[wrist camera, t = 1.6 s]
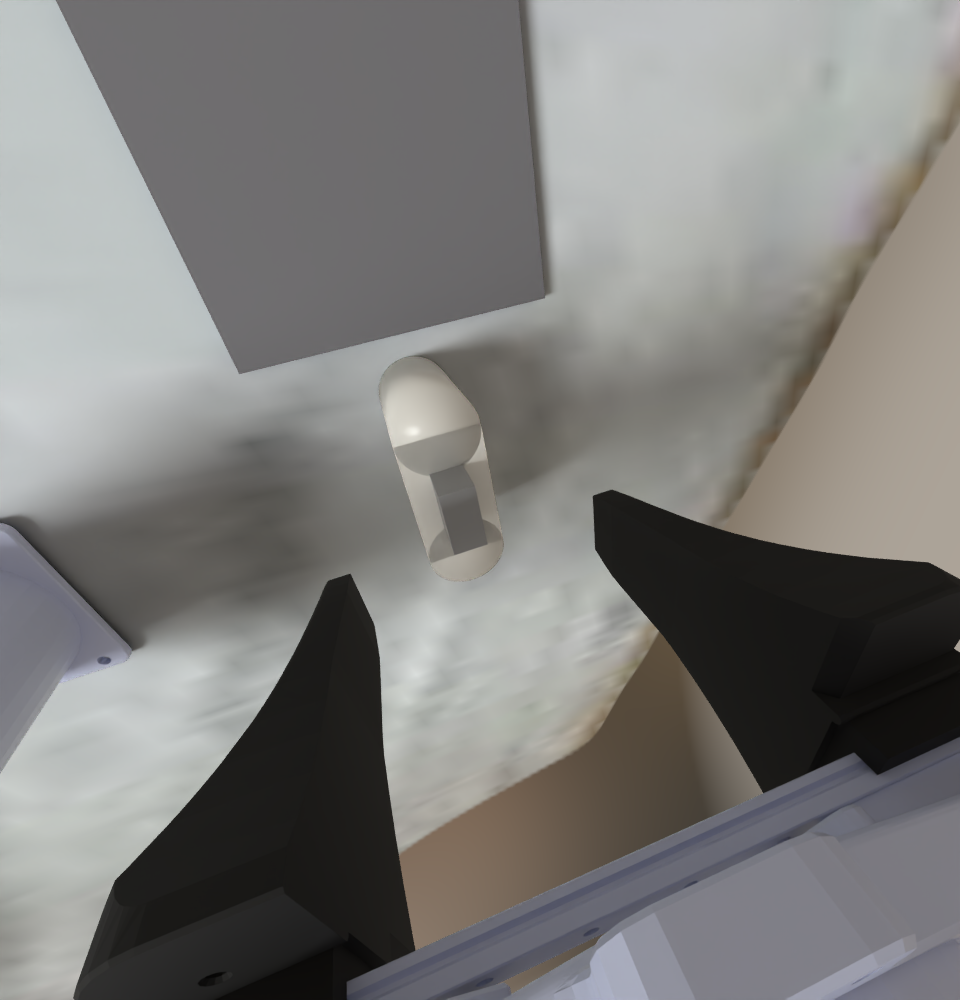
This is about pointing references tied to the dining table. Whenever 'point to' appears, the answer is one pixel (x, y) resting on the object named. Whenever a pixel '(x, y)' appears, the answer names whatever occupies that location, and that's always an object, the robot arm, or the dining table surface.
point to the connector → (442, 467)
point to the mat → (328, 159)
